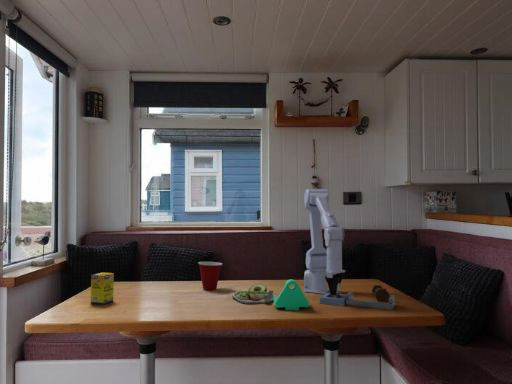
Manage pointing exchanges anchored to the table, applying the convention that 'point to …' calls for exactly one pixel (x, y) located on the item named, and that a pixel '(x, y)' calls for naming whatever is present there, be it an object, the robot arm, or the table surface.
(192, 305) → the table surface
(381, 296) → the bolt
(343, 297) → the socket
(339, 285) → the grey metal cylinder
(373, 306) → the mount bracket
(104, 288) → the supplement box
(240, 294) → the salad plate
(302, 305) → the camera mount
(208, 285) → the plastic cup
